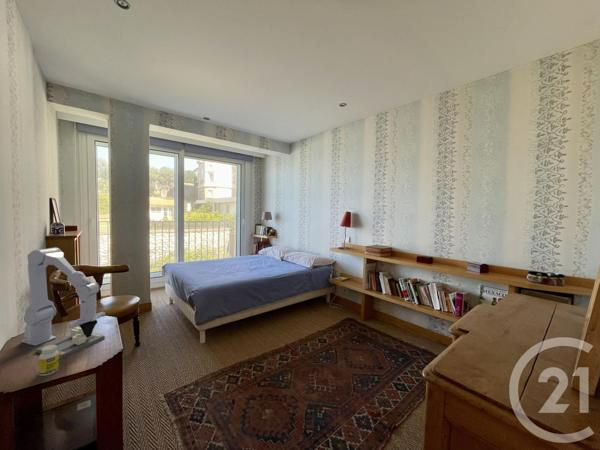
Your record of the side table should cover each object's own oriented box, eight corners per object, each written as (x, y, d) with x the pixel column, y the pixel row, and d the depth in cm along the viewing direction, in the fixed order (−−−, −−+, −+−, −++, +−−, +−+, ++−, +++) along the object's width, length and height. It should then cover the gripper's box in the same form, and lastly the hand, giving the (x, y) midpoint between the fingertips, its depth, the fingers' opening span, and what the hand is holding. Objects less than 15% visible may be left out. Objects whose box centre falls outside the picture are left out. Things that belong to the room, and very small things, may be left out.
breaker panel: (36, 352, 107) (36, 348, 107) (81, 333, 125) (81, 330, 124) (61, 359, 103) (61, 355, 103) (104, 338, 121) (104, 335, 121)
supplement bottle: (45, 377, 92) (46, 352, 92) (34, 374, 93) (35, 349, 93) (62, 368, 98) (62, 344, 97) (51, 366, 99) (52, 342, 98)
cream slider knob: (70, 335, 118) (70, 328, 118) (77, 332, 121) (77, 326, 121) (76, 337, 117) (76, 330, 117) (83, 334, 120) (83, 327, 120)
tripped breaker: (71, 343, 112) (72, 336, 112) (79, 340, 115) (79, 333, 115) (78, 345, 111) (78, 337, 111) (85, 341, 114) (85, 334, 114)
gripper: (77, 315, 108) (76, 345, 109) (110, 304, 122) (109, 331, 123) (65, 313, 110) (65, 343, 110) (99, 302, 124) (98, 328, 124)
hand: (87, 336), depth 117 cm, fingers closed
